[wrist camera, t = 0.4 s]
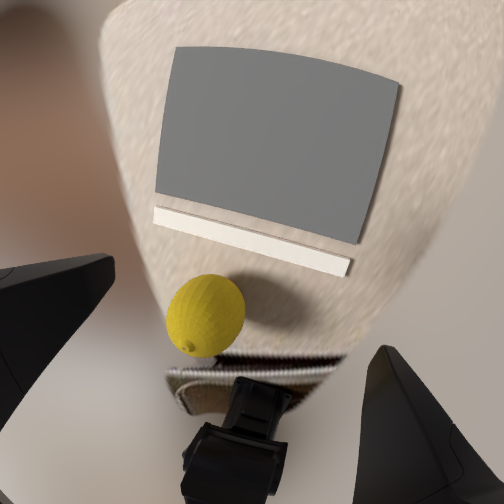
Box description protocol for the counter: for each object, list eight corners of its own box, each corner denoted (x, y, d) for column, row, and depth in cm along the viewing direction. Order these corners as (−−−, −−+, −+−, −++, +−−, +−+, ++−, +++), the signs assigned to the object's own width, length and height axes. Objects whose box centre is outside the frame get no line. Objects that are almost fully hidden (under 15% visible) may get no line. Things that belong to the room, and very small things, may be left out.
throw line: (343, 275, 21) (343, 277, 20) (155, 221, 23) (153, 223, 23) (349, 258, 20) (350, 260, 20) (156, 205, 22) (154, 206, 22)
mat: (355, 243, 19) (355, 245, 19) (157, 191, 22) (155, 192, 22) (397, 83, 14) (398, 82, 14) (178, 48, 17) (176, 47, 16)
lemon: (245, 253, 22) (205, 311, 15) (263, 311, 24) (236, 379, 17) (186, 263, 24) (134, 315, 17) (208, 315, 26) (169, 375, 19)
